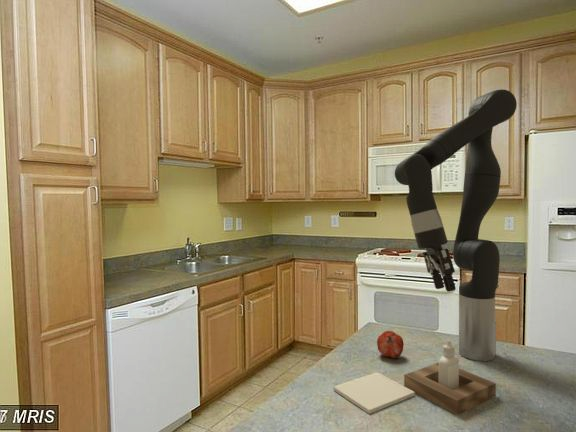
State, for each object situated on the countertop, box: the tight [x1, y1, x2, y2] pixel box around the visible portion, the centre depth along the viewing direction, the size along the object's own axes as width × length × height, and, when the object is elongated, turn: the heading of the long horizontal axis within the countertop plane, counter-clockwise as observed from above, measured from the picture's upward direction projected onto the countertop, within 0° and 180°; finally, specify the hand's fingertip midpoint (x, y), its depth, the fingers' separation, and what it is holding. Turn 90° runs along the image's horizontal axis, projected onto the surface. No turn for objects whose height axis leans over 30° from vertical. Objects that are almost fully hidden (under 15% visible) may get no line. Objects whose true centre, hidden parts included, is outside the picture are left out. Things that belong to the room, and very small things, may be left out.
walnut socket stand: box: [403, 362, 497, 416], centre depth 88 cm, size 14×14×3 cm
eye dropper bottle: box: [438, 339, 460, 390], centre depth 88 cm, size 4×6×12 cm
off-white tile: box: [332, 372, 416, 415], centre depth 88 cm, size 14×12×1 cm
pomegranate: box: [376, 330, 405, 359], centre depth 109 cm, size 7×7×10 cm
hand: (445, 289), depth 98 cm, fingers open, 8 cm apart
